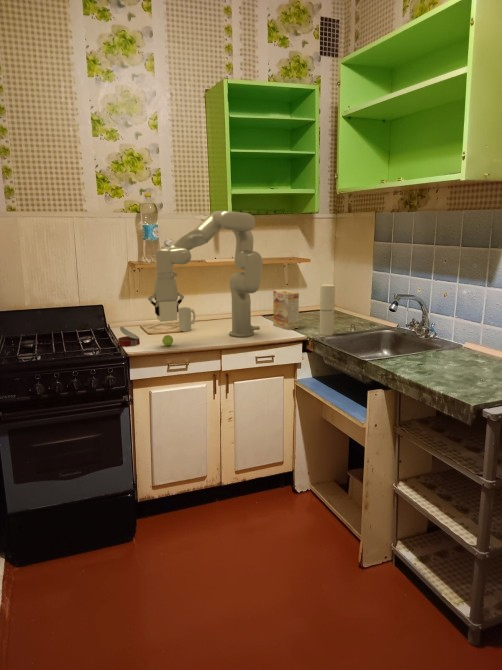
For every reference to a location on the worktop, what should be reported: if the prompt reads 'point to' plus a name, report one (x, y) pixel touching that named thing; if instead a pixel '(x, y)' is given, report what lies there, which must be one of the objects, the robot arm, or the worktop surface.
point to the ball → (167, 340)
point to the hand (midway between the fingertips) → (166, 314)
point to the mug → (185, 318)
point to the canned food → (128, 338)
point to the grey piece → (167, 311)
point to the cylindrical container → (327, 309)
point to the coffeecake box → (285, 309)
